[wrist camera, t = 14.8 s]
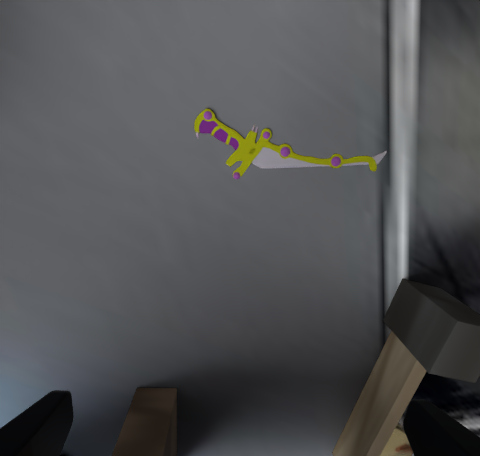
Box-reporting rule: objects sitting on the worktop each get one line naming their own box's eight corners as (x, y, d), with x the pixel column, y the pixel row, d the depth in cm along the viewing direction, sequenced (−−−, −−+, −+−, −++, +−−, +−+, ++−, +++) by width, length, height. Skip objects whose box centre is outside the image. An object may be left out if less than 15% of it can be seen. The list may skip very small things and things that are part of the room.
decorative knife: (350, 221, 19) (386, 148, 18) (353, 223, 19) (391, 148, 17) (183, 162, 17) (208, 76, 16) (182, 162, 17) (208, 74, 16)
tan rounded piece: (345, 451, 25) (352, 470, 23) (361, 412, 24) (370, 430, 22) (391, 456, 25) (401, 475, 24) (410, 419, 24) (421, 436, 23)
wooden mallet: (321, 450, 24) (344, 525, 20) (402, 278, 20) (457, 321, 15) (353, 455, 25) (383, 531, 20) (440, 287, 20) (506, 332, 15)
